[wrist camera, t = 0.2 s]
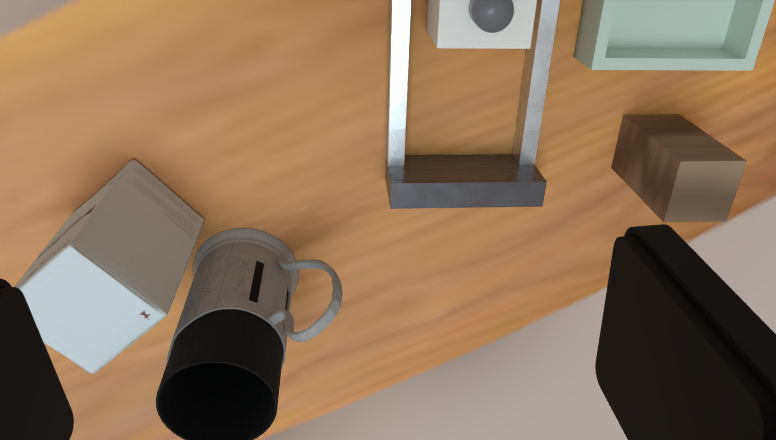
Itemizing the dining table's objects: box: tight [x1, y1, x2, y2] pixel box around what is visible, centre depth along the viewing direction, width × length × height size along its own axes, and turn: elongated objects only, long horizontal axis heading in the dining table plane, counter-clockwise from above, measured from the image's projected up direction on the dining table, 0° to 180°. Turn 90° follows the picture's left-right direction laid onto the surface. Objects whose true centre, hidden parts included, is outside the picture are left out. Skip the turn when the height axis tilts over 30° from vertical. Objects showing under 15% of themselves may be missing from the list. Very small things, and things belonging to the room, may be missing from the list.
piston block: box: [426, 0, 537, 49], centre depth 39 cm, size 5×6×7 cm
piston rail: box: [385, 0, 560, 209], centre depth 42 cm, size 20×11×5 cm, turn 178°
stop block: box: [612, 115, 747, 222], centre depth 45 cm, size 4×4×9 cm
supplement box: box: [15, 159, 204, 374], centre depth 43 cm, size 7×7×13 cm
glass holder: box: [156, 228, 342, 440], centre depth 45 cm, size 9×14×15 cm, turn 126°
